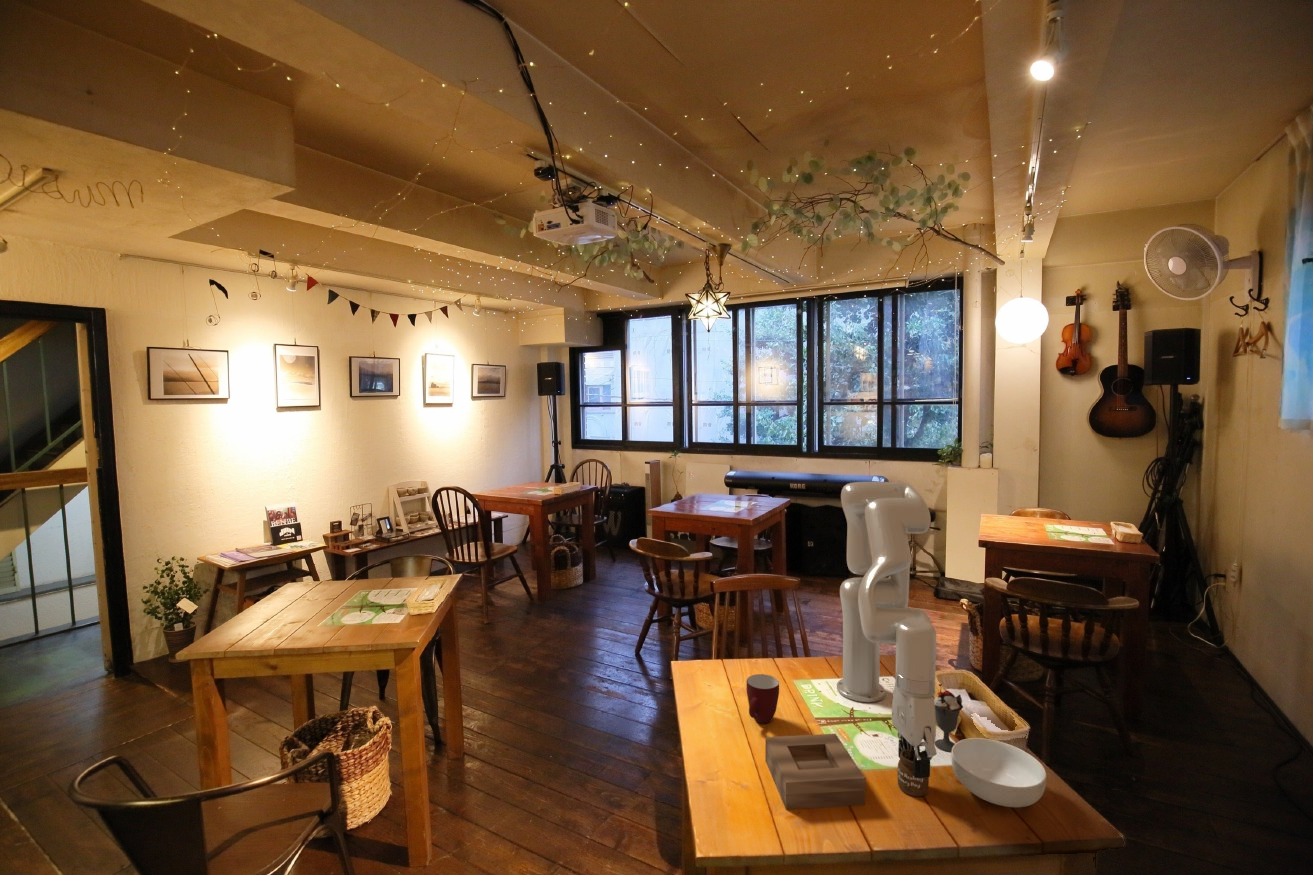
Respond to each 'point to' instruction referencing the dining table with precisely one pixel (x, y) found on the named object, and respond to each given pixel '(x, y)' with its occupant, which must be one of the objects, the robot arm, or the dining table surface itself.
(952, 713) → the sundae
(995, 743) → the cereal bowl
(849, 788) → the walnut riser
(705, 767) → the dining table surface
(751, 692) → the mug
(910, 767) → the utensil holder
